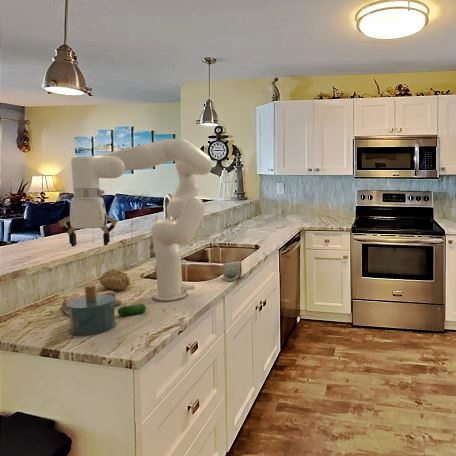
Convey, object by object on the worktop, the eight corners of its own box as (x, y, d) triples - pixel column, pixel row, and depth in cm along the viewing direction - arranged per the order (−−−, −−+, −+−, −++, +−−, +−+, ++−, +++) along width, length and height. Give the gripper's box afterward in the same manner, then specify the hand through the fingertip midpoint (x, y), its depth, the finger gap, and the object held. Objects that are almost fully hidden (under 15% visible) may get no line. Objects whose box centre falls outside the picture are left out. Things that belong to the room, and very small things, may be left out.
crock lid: (114, 295, 142) (113, 278, 141) (115, 307, 130) (114, 288, 129) (68, 301, 136) (66, 283, 135) (65, 314, 124) (63, 294, 123)
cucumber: (145, 310, 150) (145, 302, 150) (146, 313, 147) (146, 304, 147) (117, 314, 146) (117, 306, 146) (118, 317, 143) (117, 308, 143)
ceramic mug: (224, 275, 198) (224, 260, 197) (242, 275, 199) (241, 259, 198) (221, 282, 188) (221, 265, 187) (240, 281, 189) (239, 265, 187)
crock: (114, 318, 143) (112, 294, 141) (115, 330, 132) (113, 305, 130) (72, 324, 137) (70, 299, 136) (69, 338, 126) (67, 311, 125)
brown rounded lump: (103, 285, 187) (91, 288, 168) (106, 267, 188) (95, 269, 169) (134, 288, 190) (126, 291, 171) (137, 271, 191) (129, 273, 172)
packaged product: (67, 303, 143) (59, 297, 150) (68, 316, 144) (60, 309, 151) (120, 292, 156) (111, 286, 163) (121, 304, 157) (112, 298, 164)
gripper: (117, 193, 141) (120, 242, 143) (60, 193, 136) (64, 244, 139) (113, 194, 134) (116, 246, 136) (52, 194, 129) (57, 248, 132)
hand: (90, 245), depth 137 cm, fingers open, 9 cm apart
